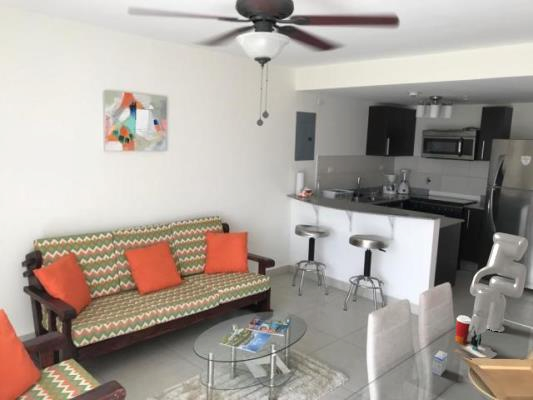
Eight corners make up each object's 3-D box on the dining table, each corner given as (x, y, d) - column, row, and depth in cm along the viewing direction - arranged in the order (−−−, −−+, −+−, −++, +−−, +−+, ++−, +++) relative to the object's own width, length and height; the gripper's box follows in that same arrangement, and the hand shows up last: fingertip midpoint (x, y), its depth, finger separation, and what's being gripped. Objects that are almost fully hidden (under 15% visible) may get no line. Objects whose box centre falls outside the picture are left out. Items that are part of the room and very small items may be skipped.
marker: (473, 347, 233) (477, 326, 231) (478, 349, 231) (482, 328, 229) (470, 348, 232) (474, 327, 229) (475, 351, 229) (479, 330, 227)
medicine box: (436, 366, 214) (439, 350, 213) (445, 369, 211) (448, 353, 210) (431, 372, 208) (433, 356, 206) (440, 376, 205) (443, 359, 204)
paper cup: (465, 339, 245) (469, 315, 242) (470, 345, 237) (474, 322, 234) (451, 337, 245) (455, 314, 243) (455, 344, 238) (459, 320, 235)
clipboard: (472, 343, 240) (473, 340, 240) (498, 355, 229) (498, 352, 229) (454, 351, 230) (455, 348, 229) (480, 364, 219) (481, 361, 218)
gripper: (481, 306, 235) (476, 337, 239) (466, 312, 226) (460, 345, 229) (495, 312, 229) (489, 344, 233) (480, 318, 220) (474, 351, 223)
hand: (475, 344), depth 231 cm, fingers closed on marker, 2 cm apart
